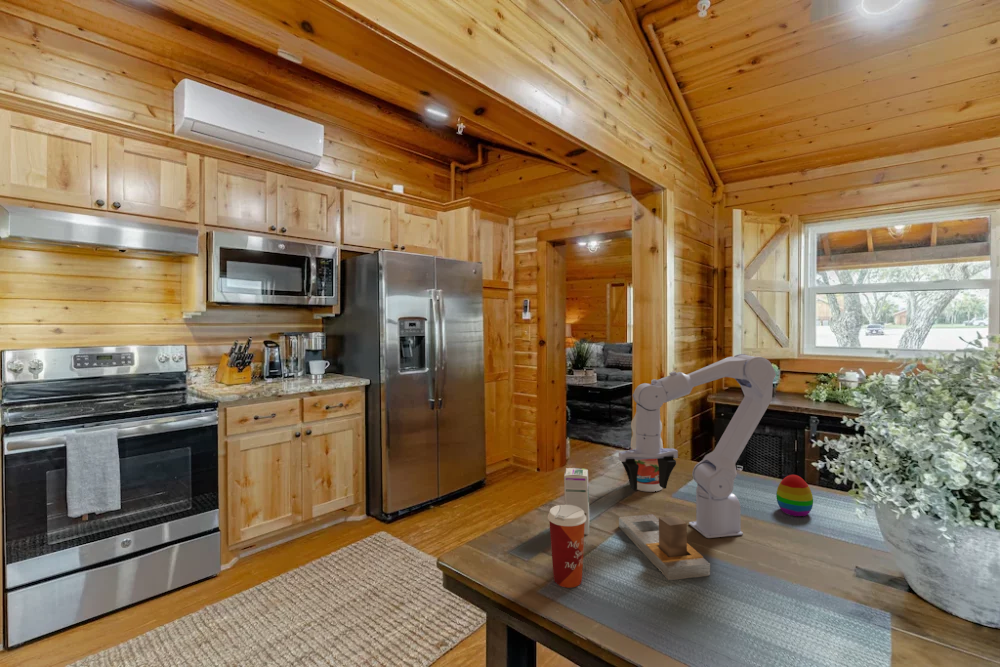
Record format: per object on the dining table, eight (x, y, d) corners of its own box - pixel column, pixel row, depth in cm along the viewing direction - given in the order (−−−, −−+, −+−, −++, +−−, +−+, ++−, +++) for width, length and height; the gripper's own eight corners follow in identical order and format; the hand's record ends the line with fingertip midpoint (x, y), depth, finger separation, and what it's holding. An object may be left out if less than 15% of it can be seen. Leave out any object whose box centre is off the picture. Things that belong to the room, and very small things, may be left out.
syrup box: (589, 535, 112) (588, 475, 111) (564, 533, 113) (563, 474, 112) (589, 524, 117) (588, 468, 117) (566, 523, 118) (565, 467, 118)
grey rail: (652, 523, 117) (652, 513, 117) (710, 575, 93) (709, 562, 93) (619, 526, 116) (618, 516, 115) (668, 580, 92) (668, 567, 92)
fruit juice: (666, 484, 144) (665, 395, 143) (659, 494, 136) (658, 400, 135) (635, 479, 149) (634, 393, 148) (627, 489, 141) (626, 397, 140)
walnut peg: (675, 555, 101) (675, 515, 101) (686, 565, 97) (686, 523, 97) (659, 558, 100) (658, 517, 100) (670, 568, 96) (669, 525, 96)
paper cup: (578, 595, 87) (577, 522, 87) (541, 583, 91) (540, 514, 91) (593, 575, 94) (592, 507, 94) (558, 565, 98) (557, 500, 98)
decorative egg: (799, 505, 126) (799, 469, 126) (820, 518, 118) (820, 480, 118) (769, 506, 126) (769, 470, 126) (789, 519, 118) (789, 481, 118)
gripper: (667, 427, 118) (667, 480, 118) (613, 430, 116) (613, 484, 116) (682, 434, 111) (682, 490, 111) (625, 437, 109) (625, 495, 109)
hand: (648, 488), depth 113 cm, fingers open, 7 cm apart
